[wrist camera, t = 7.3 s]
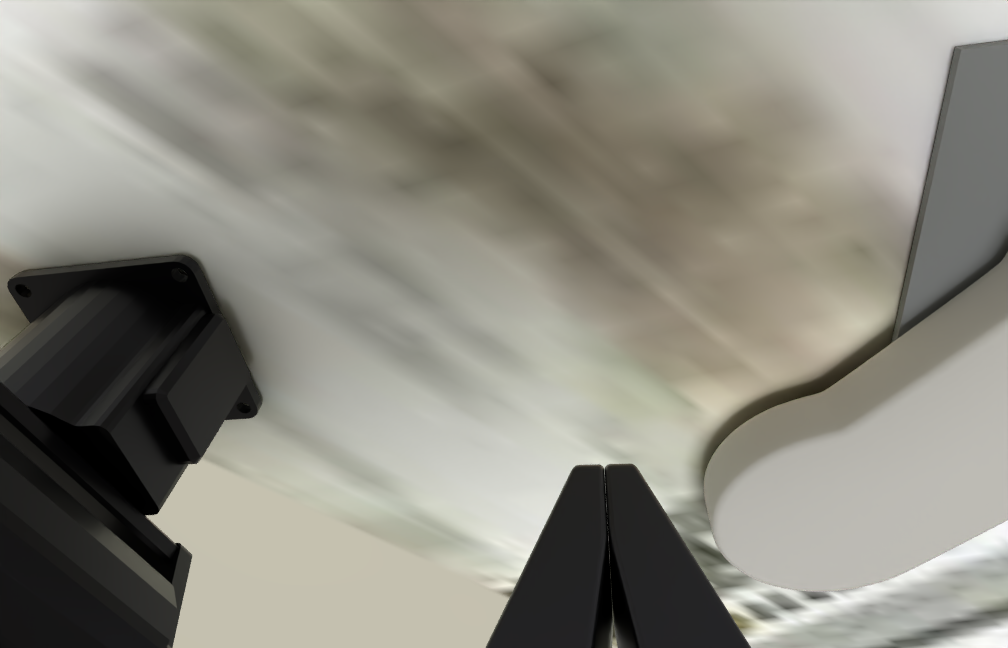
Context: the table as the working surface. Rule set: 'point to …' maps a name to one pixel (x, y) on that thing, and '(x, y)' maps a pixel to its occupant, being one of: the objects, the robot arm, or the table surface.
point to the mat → (962, 187)
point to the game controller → (875, 458)
